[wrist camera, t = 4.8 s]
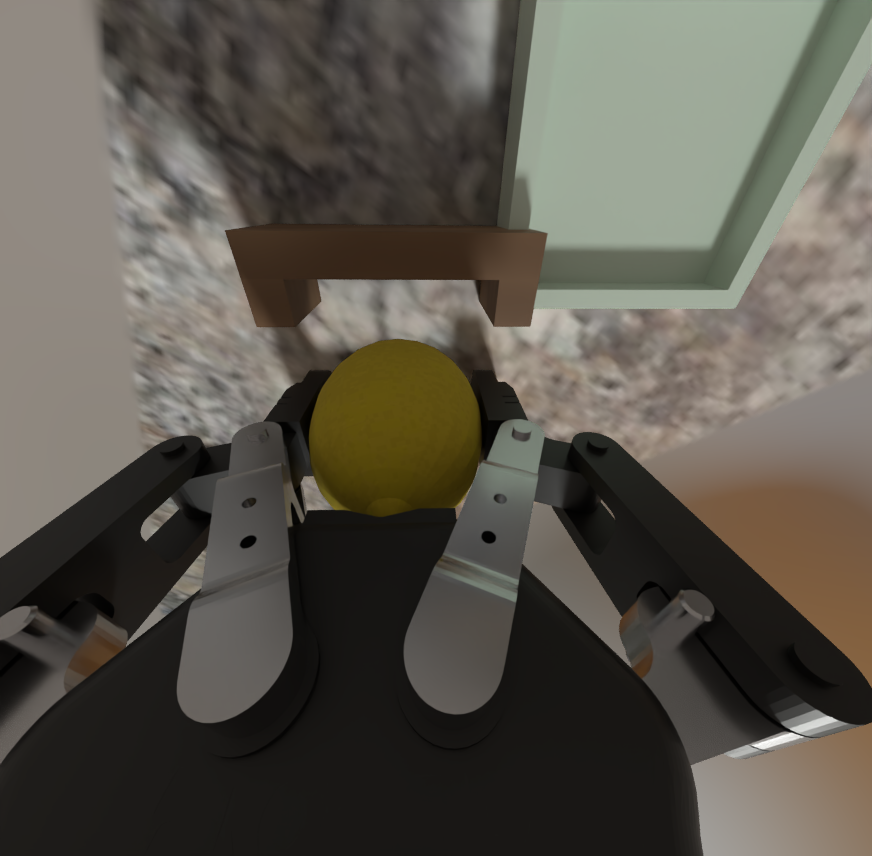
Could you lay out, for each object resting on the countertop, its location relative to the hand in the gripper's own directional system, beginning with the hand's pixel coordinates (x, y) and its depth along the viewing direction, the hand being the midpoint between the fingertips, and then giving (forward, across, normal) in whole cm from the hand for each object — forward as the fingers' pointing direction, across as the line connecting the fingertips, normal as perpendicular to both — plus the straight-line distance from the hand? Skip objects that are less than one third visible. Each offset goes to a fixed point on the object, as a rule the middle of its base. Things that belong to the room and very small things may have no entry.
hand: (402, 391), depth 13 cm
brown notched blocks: (+5, 0, 0) cm, 5 cm away
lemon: (+2, 0, 0) cm, 2 cm away
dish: (+6, -10, -8) cm, 14 cm away
